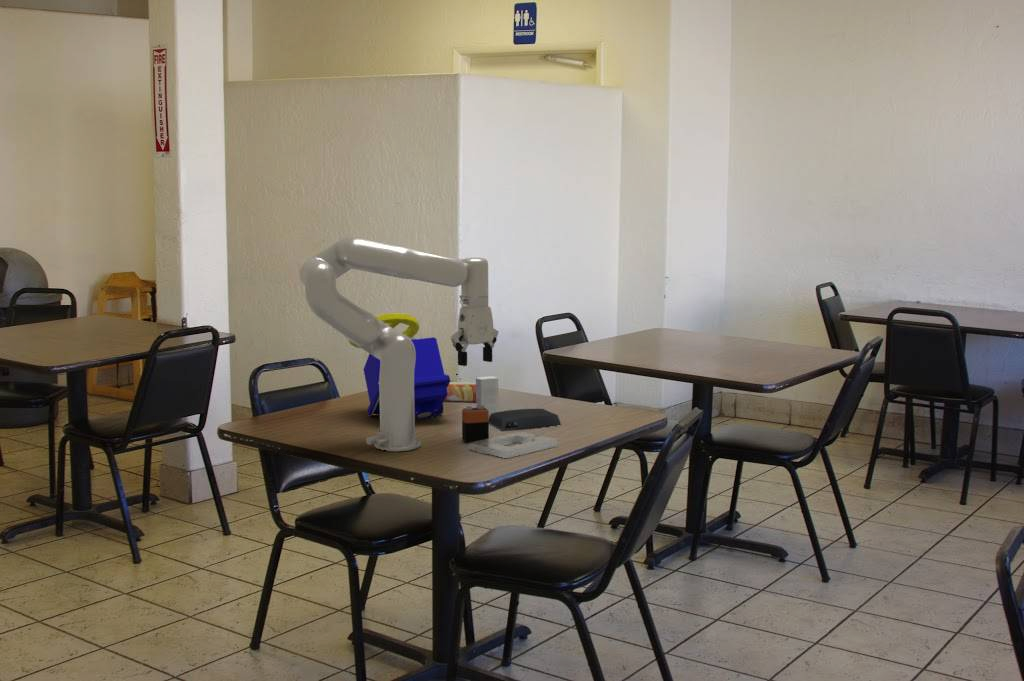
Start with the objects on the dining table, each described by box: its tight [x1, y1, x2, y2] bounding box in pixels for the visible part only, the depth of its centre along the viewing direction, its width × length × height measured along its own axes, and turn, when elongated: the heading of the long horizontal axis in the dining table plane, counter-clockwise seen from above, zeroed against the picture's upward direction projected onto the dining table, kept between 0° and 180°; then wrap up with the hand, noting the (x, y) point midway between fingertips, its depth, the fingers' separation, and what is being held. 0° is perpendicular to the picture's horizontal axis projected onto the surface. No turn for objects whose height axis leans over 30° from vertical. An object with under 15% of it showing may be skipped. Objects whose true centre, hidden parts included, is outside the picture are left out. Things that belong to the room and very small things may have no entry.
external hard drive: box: [489, 408, 562, 432], centre depth 334 cm, size 13×19×4 cm
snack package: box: [444, 381, 476, 403], centre depth 372 cm, size 21×7×7 cm, turn 80°
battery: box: [461, 405, 490, 444], centre depth 312 cm, size 4×7×10 cm, turn 107°
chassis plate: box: [468, 430, 558, 459], centre depth 304 cm, size 20×14×2 cm
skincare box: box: [475, 375, 500, 416], centre depth 347 cm, size 6×4×12 cm
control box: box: [348, 312, 451, 421], centre depth 342 cm, size 26×27×30 cm
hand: (475, 363), depth 310 cm, fingers open, 9 cm apart
